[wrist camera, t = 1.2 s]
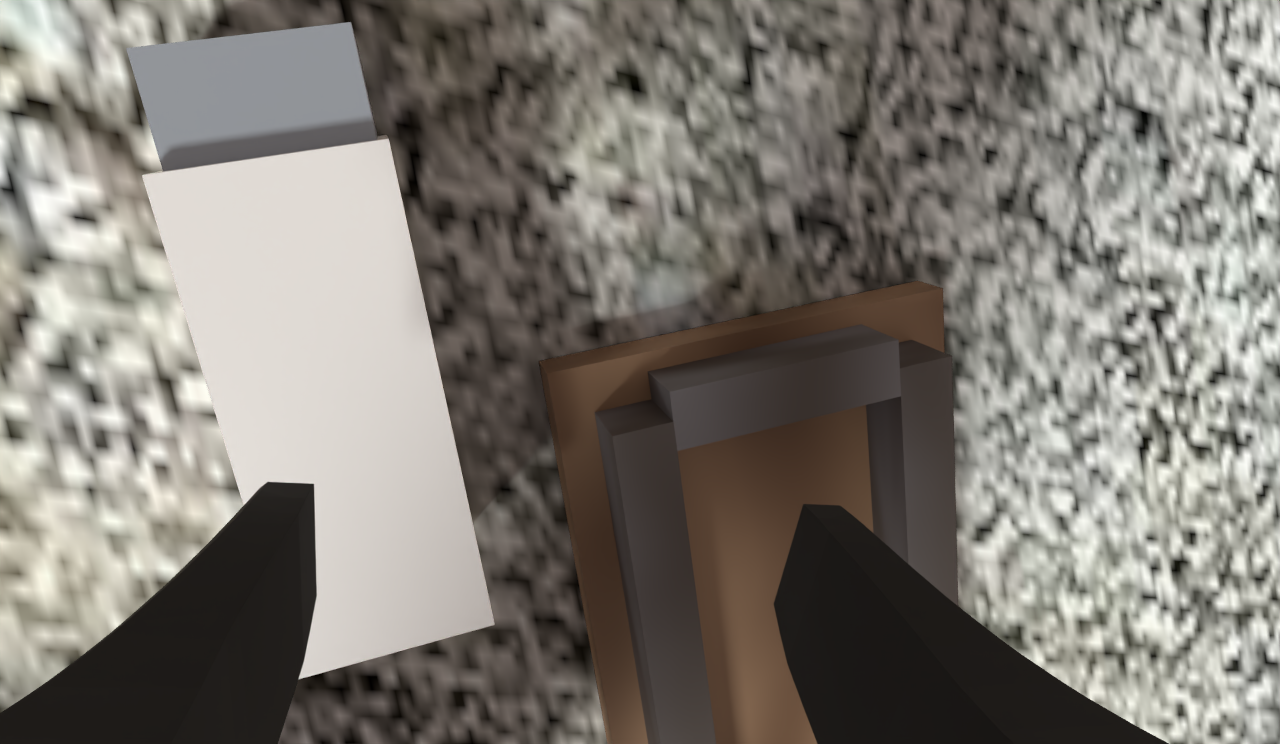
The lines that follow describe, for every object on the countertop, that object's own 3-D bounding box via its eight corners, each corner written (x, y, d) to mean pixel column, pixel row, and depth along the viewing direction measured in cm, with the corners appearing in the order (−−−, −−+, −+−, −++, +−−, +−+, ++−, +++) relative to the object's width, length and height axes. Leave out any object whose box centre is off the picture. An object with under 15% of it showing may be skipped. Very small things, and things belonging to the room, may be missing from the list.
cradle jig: (634, 892, 28) (662, 978, 25) (538, 361, 22) (561, 395, 19) (935, 784, 30) (991, 850, 28) (917, 281, 25) (985, 300, 22)
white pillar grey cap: (314, 562, 22) (297, 679, 17) (171, 65, 18) (102, 47, 14) (471, 523, 23) (494, 624, 18) (365, 42, 19) (361, 16, 15)
